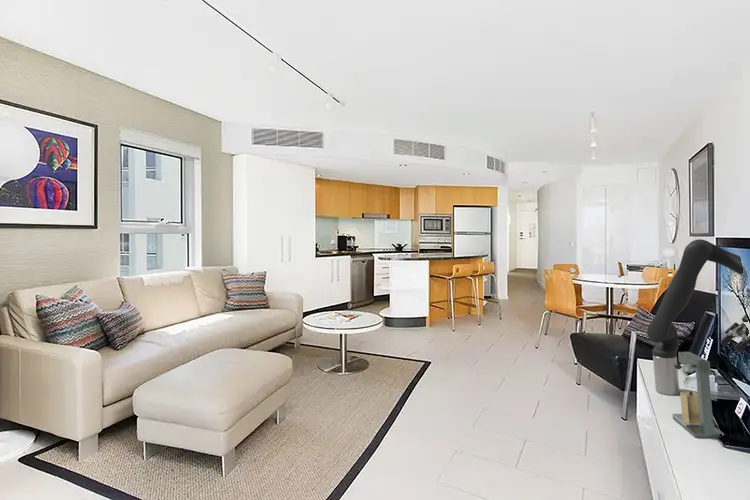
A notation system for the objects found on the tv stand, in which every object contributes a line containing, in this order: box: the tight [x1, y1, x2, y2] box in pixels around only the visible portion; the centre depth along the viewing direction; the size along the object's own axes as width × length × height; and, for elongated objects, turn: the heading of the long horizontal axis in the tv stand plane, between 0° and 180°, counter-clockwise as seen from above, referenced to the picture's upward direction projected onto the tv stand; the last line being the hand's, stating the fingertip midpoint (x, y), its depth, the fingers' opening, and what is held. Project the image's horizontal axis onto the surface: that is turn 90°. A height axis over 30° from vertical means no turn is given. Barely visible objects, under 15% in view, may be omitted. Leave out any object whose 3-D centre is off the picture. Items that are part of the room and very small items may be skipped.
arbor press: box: [672, 351, 725, 439], centre depth 158 cm, size 16×13×28 cm
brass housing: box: [679, 390, 700, 422], centre depth 161 cm, size 5×5×11 cm
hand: (729, 347), depth 162 cm, fingers open, 8 cm apart
